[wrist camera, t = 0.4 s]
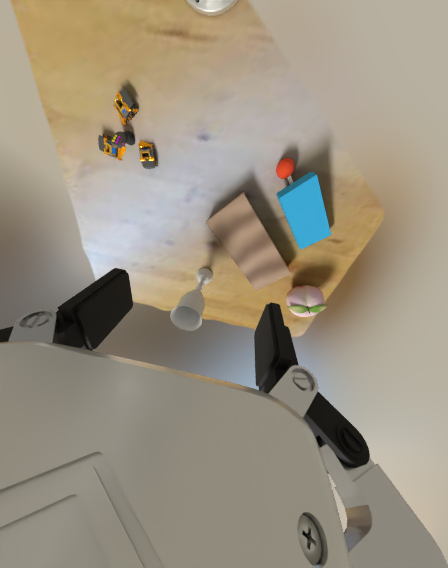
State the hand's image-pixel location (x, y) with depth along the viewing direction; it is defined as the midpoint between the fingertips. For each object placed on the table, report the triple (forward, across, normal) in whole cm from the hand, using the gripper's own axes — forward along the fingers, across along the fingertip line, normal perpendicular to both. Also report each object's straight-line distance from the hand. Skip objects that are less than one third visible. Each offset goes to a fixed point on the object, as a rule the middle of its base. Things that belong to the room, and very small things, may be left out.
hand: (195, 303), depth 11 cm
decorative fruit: (+35, -23, +17) cm, 45 cm away
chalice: (+35, +5, +19) cm, 40 cm away
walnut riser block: (+34, -6, +7) cm, 35 cm away
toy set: (+35, +23, -11) cm, 43 cm away
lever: (+35, -14, -4) cm, 38 cm away
